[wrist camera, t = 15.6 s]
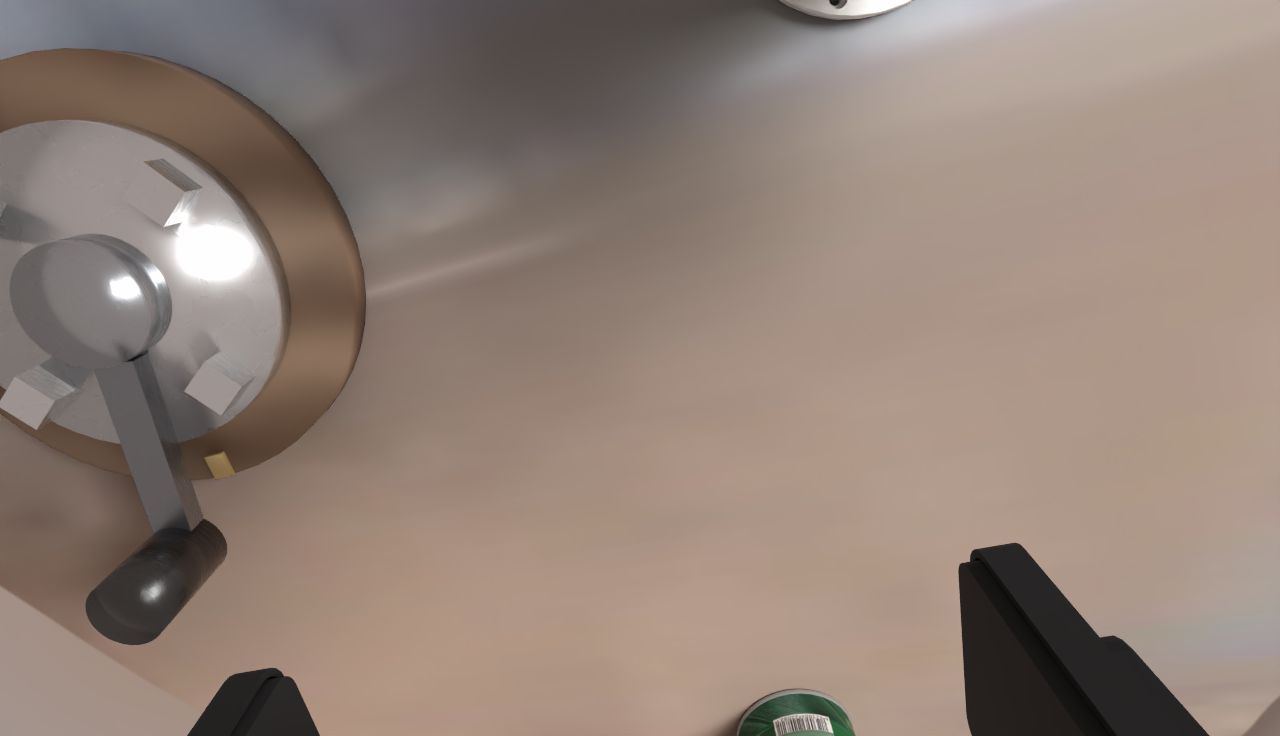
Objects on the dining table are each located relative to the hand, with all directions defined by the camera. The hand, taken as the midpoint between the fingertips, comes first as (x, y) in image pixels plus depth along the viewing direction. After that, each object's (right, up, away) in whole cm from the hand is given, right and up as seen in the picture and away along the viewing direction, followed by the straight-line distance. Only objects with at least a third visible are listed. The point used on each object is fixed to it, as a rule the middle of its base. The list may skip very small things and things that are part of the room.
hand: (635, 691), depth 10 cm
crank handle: (-25, +5, +28) cm, 38 cm away
